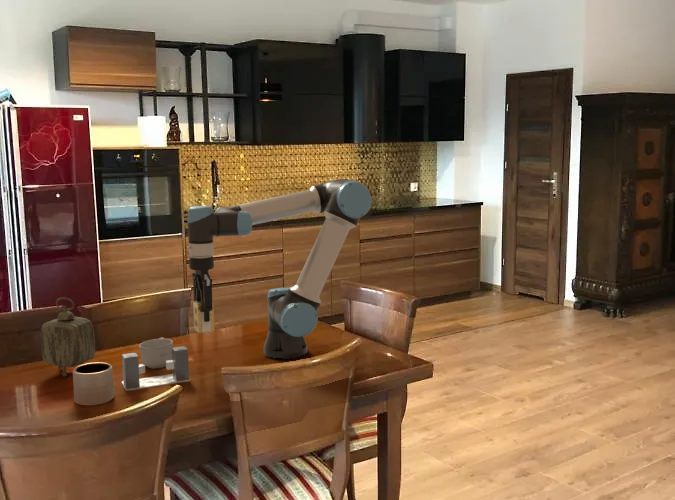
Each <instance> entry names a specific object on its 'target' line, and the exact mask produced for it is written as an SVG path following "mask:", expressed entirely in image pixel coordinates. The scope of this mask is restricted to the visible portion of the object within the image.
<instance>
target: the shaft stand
mask: <svg viewBox="0 0 675 500" xmlns="http://www.w3.org/2000/svg"><path fill="white" fill-rule="evenodd" d="M121 359H122V361H121V363H122V377H123V378H122V379H123V380H122V381H121V385H122V386H123V388H124V389H125V391H126V392H129V391H136V390H142V389H147V388H154V387H161V386H165V385H166V386H167V385H172V384H180V383H185V382H190V381H191V380H190V372H189V371H190V367H189V365H190V364H189V349H188V347H186V346H185V345H182V346H175V347H174V346H173V348H172V360H166V366H165V368H166V370H172V373H169V374H163V375H157V376H156V375H155V376H150V377H142V378H140V375H143V374H146V365H144V364H143V363H140V362H139V356H138V354H137V352H130V353H123V354H121Z"/></svg>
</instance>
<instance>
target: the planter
mask: <svg viewBox="0 0 675 500" xmlns="http://www.w3.org/2000/svg"><path fill="white" fill-rule="evenodd" d="M72 382H73V400H74V402H75V404H77V405H79V406H82V405H84V407H94V406H95V405H96V406H100V405H104V404H107V403H109V402H110V401H112V400H113V398H114V397H115V389H114V388H115V386H114V374H113V365H112V364H110V363H109V362H102V361H99V362H98V361H97V362H94V361H93V362H88V363H86V362H85V363H84V364H82V365H78V366H75V367H73V369H72ZM96 406H95V407H96Z"/></svg>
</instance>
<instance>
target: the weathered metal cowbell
mask: <svg viewBox="0 0 675 500" xmlns="http://www.w3.org/2000/svg"><path fill="white" fill-rule="evenodd" d="M60 300H66V301H68V302H70V303H71V304H72V307H70V308H68V307H67V306H66V305H64V306H63V307H60V306H59V305H58V302H59V301H60ZM55 307H57V309H59V310H61V312H59V313H58V315H57V318H55V319H52V320H49V321H46V322H44V323H43V324H42V326H41V327H40V334H39V336H40V337H39V339H40V340H39V342H40V344H39V345H40V351H41V357H42V360H43V362H44V363H46V364H48V365H52V366H57V369H58V370H59V371H61V370H63V371H62V372H61V375H62V377H67V375H68V372H67V368H75V367H77V366H79V365H82V364H85V363H86V362H89V361H90V360H93V359H94V357H95V353H96V352H95V351H96V338H95V332H94V331H95V328H94V325H93V323H92V322H91V320H89V319H88V318H85V317H81V316H75V315H74V313H73V312H71V311H72V310H73V309H74V307H75V302H74V301H73V300H72V298H69V297H66V296H64V297H62V296H61V297H59V298H57V299H56V300H55Z"/></svg>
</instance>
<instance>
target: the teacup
mask: <svg viewBox="0 0 675 500" xmlns="http://www.w3.org/2000/svg"><path fill="white" fill-rule="evenodd" d="M138 347H139V352H140V354H139V355H140V360H141V362H142V363H141V364H143V365H145V367H147V368H149V369H162V368H164V367H165V368H166V360H172V348H173V347H174V341H173V340H172V339H170V338H165V337H159V338H153V339H148V340H145V341H143V342H141V343H140V344H138Z"/></svg>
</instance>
